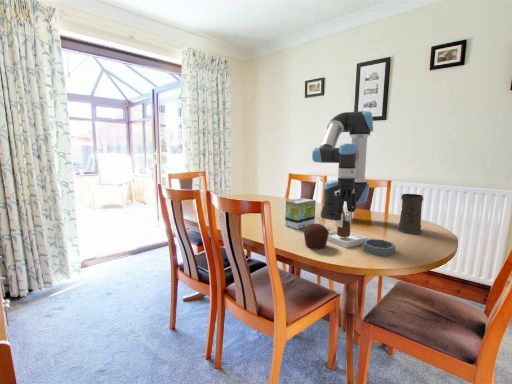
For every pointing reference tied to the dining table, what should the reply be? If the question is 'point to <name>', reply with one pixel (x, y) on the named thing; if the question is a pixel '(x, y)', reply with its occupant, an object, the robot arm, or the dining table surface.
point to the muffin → (316, 236)
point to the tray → (345, 239)
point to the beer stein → (411, 214)
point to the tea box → (300, 213)
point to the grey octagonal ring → (370, 243)
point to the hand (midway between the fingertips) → (344, 225)
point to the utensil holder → (344, 229)
